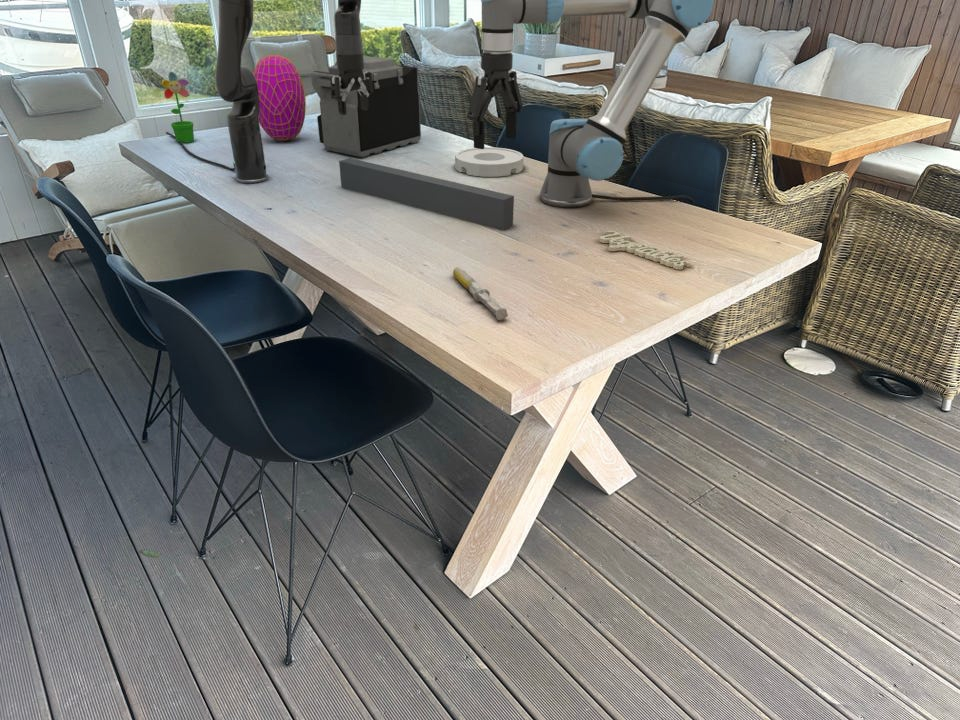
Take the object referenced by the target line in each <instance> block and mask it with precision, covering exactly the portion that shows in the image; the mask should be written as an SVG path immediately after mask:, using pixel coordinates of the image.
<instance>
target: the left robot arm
mask: <svg viewBox="0 0 960 720" xmlns="http://www.w3.org/2000/svg"><path fill="white" fill-rule="evenodd" d="M254 1H255V0H218V11H217V12H218V35H217V36H218V38H217V39H218V41H217V42H218V43H217V54H216V55H217V57H216V65H215V73H214V74H215V75H214V83H215V89H216V92H217V94H218V95H219V97H220V98H221V99H222V100H223V101H224V102H226V103H232V106H231V108H230V110H229V111H228V112H227V114H226V122H227V127H228V133H229V140H230V146H231V152H232V157H233V161H232V164H233V167H229V166H227V165H225V164H223V163H220V162H216V161H212V160H209V159H206V158H203V157H200V156H199V155H197V154H195V153H193V152H191V150H189V149H188V148H187V147H186V146H185V145H184V143H182V142H181V141H178V142H177V143H179V145H180V146H181V147H182V148H183V149H184V151H186V153H188V154H189V155H190V156H192V157H194V158H196V159H198V160H200V161H202V162H206V163H207V164H211V165H214V166H218V167H222V168H224V169H226V170H228V171H233V172H234V171H235V174H236V181H237V183H238V182H239V183H242V184H255V183H256V184H257V183H262V182H265V181H267V180H268V174H267V173H268V172H267V164H266V158H265V152H264V146H263V139H262V138H263V137H262V132H261V125H260V123H259V114H260V104H259V93H258V86H257V81H256V78H255V76H254V74H253V72H254V71H252V70H251V69H250V68H249V67H247V66H245V65H242V54H243V51H244V48H245V45H246V43H247V40H248V38H249V35H250V33H251V30H252V27H253V24H254V10H255V9H254V6H255V5H254V4H255V2H254ZM361 6H362V0H337V8H336V10H335V12H334V13H333V25H334V26H333V27H334V48H335V58H336V60H335V62H336V61H337V69H338V70H339V77H336V76H331V77H330V85H331V98H332V99H335V100H337V101H338V111H339V113H340V114H341V115H346V114H347V111H346V101H345V99H346V96H347V95H348V94H349V92H350V91H353V90H357V91H358V92H359V93H360V95H361V97H360V100H361V109H362V110H365V111H366V110H368V107H369V104H368V96H369V95H370V94H372V93H373V84H372V74H371V72H367V71H362V70H363V69H364V58H363V56H364V46H363V45H364V43H363V37H362V34H361V33H362V30H361V18H360V17H361V16H360V15H361V8H362V7H361ZM362 81H363V82H364V83H363V82H362ZM368 85H369V89H368ZM343 88H344V89H343ZM335 91H336V95H335ZM165 134H166V135H168V136H170V137H172V138H174V139H175V140H176V137H175V134H173V133H171V132H169V131H166V132H165Z"/></svg>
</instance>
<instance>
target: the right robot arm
mask: <svg viewBox="0 0 960 720" xmlns="http://www.w3.org/2000/svg"><path fill="white" fill-rule="evenodd" d="M480 2H481V47H480V48H481V51H483V52H482V53H481V54H480V68H481V70H483V72H484V75H483V76H480V75H476V76H475V81H474V88H473V91H472V95H471V100H470V104H469V107H468V109H467V110H468V111H467V114H466V119H467V120H469V121H471V122H472V134H473V148H478V149H484V147H485V123H486V121H485V120H483V119H484V117H485V115H486V112H487V111H488V108H489V106H490V103H491V101H492V99H493V98H495V96H496V95H499V94H500V96H501V98H502V100H503V102H504V103H505V107H506V109H507V110H508V111H505V139H510V140H516V139H517V122H518V121H517V120H518V113H521V112H522V109H523V107H524V105H523V100H522V96H521V92H520V89H519V84H518V73H517V71H516V70H512V69H513V63H514V61H513V59H514V57H513V56H514V54H513V53H512V52H513V50H514V30H515V29H514V28H515V24H516V25H520V24H545V25H548V24H555V23H558V22H559V21H560V20H561V19H562V18H569V17H587V16H588V17H590V16H591V17H592V16H594V17H595V16H614V15H615V16H617V15H621V17H622V18H623V19H640V20H644V21H645V26H646V27H645V29H644V31H643V32H642V34H641V36H640V38H639V40H638V42H637V43H636V45H635V47H634V49H633V51H632V52H631V54H630V55H629V58H628V59H627V61H626V63H625V65H624V67H623V69H622V70H621V71H620V73H619V75H618V77H617V79H616V80H615V82H614V84H613V85H612V88H611V89H610V91H609V93H608V95H607V96H606V98H605V100H604V101H603V104H602V105H601V107H600V109H599V110H598V112H597V114H596V115H593V116H590V117H588V118H561V119H554V120H553V121H552V122H551V124H550V127H549V128H550V129H549V133H548V136H549V141H548V142H549V143H548V156H547V158H548V159H547V173H546V176H545V178H544V181H543V184H542V187H541V189H540V192H539V200H540V202H542V203H543V204H546V205H549V206H553V207H558V208H559V207H560V208H580V207H584V206H588V205H589V204H591V203H592V199H602V200H609V201H622V202H623V201H624V202H625V201H626V202H627V201H629V202H630V201H632V202H633V201H673V200H687V201H689V202H690V203H691V204H696V201H695V200H694V199H693V198H692V197H690V196H689V195H684V194H681V195H672V196H671V195H670V196H610V195H604V194H594V193H592V188H591V184H590V180H591V181H597V182H599V181H604V180H607V179H609V178H611V177H613V176H614V175H616V173H617V172H618V171H619V169H620V168H621V167H622V164H623V161H624V149H623V146H624V145H625V144H626V141H627V135H626V130H627V129H628V127H629V125H630V123H631V122H632V120H633V118H634V116H635V115H636V113H637V111H638V110H639V108H640V107H641V105H642V103H643V102H644V99H645V98H646V96H647V94H648V93H649V91H650V90H651V87H652V86H653V84H654V82H655V80H656V79H657V77H658V76H659V73H660V72H661V71H662V69H663V67H664V66H665V63H667V60H668V58H669V57H670V55H671V53H672V52H673V50H674V48H675V47H676V45H678V44H680V43H683V42H685V41H686V39H687V37H688V36H689V34H690V32H691V31H692V30H693V29H695V28H698V27H700V26H702V25H703V24H704V23H705V22H706V21H707V20H708V19H709V17H710V15H711V14H712V10H713V7H714V0H480Z"/></svg>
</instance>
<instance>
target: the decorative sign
mask: <svg viewBox="0 0 960 720" xmlns="http://www.w3.org/2000/svg"><path fill="white" fill-rule="evenodd" d="M599 243H602V244H608V245H609V246H608V252H619V251H623V252H625V251H626V252H627V253H630V254H634V255H635V256H638V257H640V258H645V259H646V260H651V261H653V262H659V264H661V265H665V266H666V267H671V268H672V269H674V270H683V269H684V267H686V268H689V267H690V261H689V260H685V259H684V258H685V257H684V254H675V253H674V251H672V250H664V251H659V250H658V247H655V246H654V245H648V244H646V243H643V244H638V243H636V242H632V236H631V235H622V236H620V232H618V231H614V230H606V234H605V235H601V236H600V237H599Z"/></svg>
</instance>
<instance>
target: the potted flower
mask: <svg viewBox="0 0 960 720" xmlns="http://www.w3.org/2000/svg"><path fill="white" fill-rule="evenodd" d="M167 76H168V77H167V78H168V79H165V78H164V79H162V80H161V84H160V85H161V86H162V87H163V88H166V89H165V90H164V93H163V95H164V98H165V99H171V98H172V97H173V96H175V101H176V106H177V108H172V109H171V110H170V112H171V113H172V114H174V115H179V120H180V121H174V122H171V123H170V127H171V129H172V130H173V133H174V134H173V135H174V136H175V137H176V139H175V140H176V142H177V143H179V142H178V141H181V142H182V144H188V143H192V142H194V141H195V135H194V122H193V121H190V120H183V116H182V111H181V109H182V108H183V107H184V106H185V104H184V103H180V101H179V96H178V95H180V96H181V97H183V98H187V97H190V92H189V90H187V89H186V88H184V87H186V86H188V84H189V83H190V81H189V80H188V79H186V78H183V77H182V78H179V79H178V76H177V74H176V73H175V72H174V71H169V73H168V75H167Z"/></svg>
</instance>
